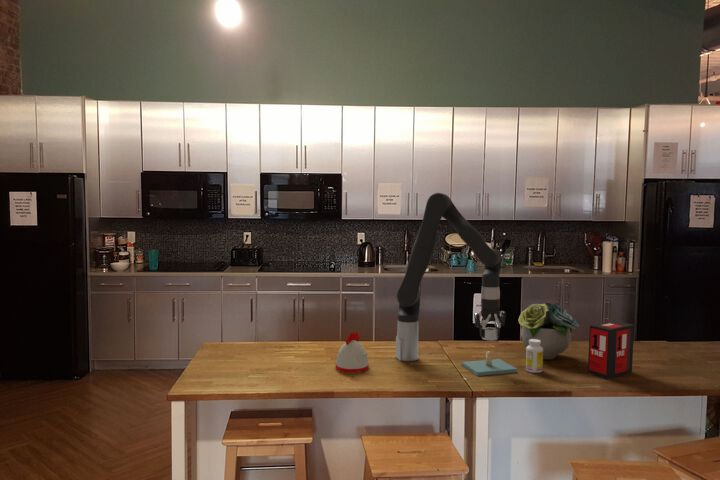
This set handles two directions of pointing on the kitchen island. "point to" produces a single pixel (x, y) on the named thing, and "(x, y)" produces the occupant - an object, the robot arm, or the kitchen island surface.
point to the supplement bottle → (534, 356)
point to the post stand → (489, 366)
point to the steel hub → (491, 334)
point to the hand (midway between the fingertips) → (489, 336)
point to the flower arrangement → (547, 328)
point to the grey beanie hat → (352, 355)
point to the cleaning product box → (610, 349)
